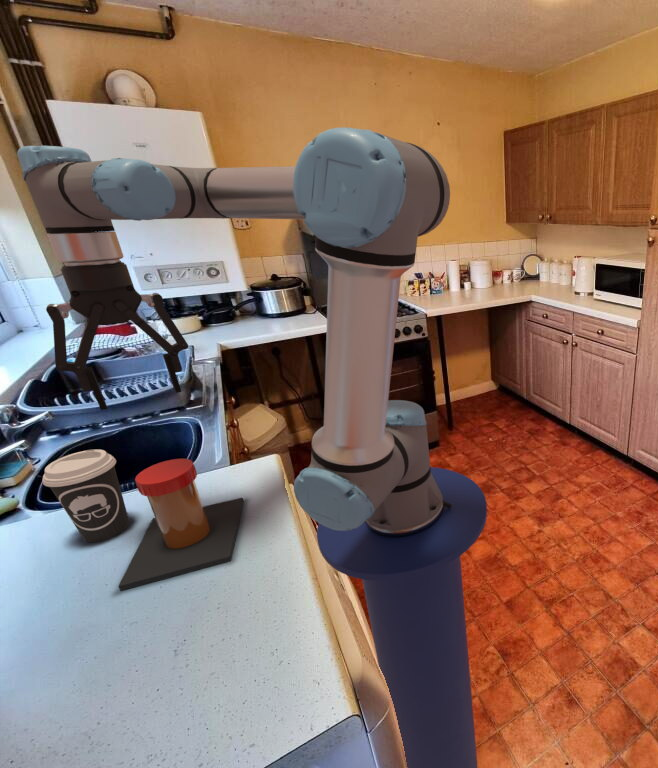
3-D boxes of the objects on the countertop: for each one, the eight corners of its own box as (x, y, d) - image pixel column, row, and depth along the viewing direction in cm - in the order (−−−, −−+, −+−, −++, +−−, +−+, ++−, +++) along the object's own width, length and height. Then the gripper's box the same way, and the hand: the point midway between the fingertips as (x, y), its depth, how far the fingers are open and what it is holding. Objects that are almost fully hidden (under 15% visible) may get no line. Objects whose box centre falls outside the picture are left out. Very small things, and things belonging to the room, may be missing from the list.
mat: (244, 501, 89) (242, 497, 88) (230, 560, 73) (229, 556, 73) (154, 522, 83) (152, 517, 83) (120, 591, 68) (118, 586, 68)
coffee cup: (152, 516, 85) (126, 449, 80) (102, 551, 76) (68, 478, 71) (112, 511, 87) (83, 445, 81) (58, 545, 78) (21, 473, 72)
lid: (201, 465, 79) (197, 454, 78) (191, 489, 72) (187, 476, 71) (148, 476, 76) (143, 464, 75) (132, 502, 69) (127, 489, 68)
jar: (213, 519, 82) (193, 459, 77) (206, 541, 76) (184, 479, 72) (171, 529, 80) (148, 468, 75) (161, 553, 74) (135, 489, 69)
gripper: (176, 255, 76) (212, 376, 84) (-12, 267, 62) (52, 411, 70) (184, 258, 71) (221, 386, 79) (-19, 272, 57) (51, 426, 65)
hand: (142, 398), depth 74 cm, fingers open, 9 cm apart
